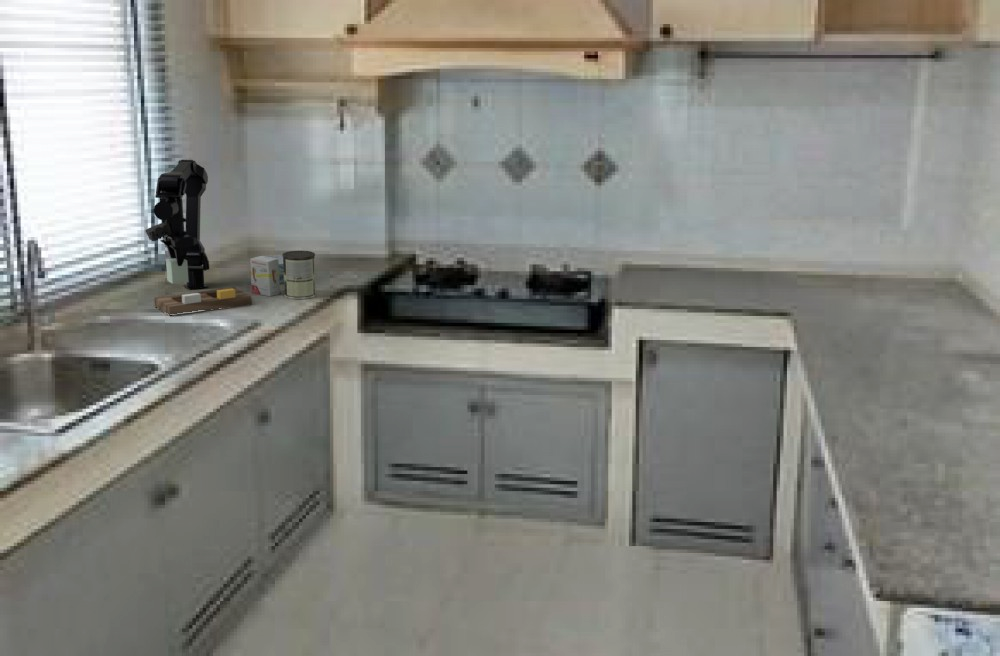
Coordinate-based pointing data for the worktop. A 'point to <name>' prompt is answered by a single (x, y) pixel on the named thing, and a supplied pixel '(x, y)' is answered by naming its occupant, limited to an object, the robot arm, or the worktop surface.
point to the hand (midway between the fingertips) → (177, 264)
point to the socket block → (203, 300)
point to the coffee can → (299, 274)
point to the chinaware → (281, 271)
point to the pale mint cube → (176, 271)
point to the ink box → (265, 275)
